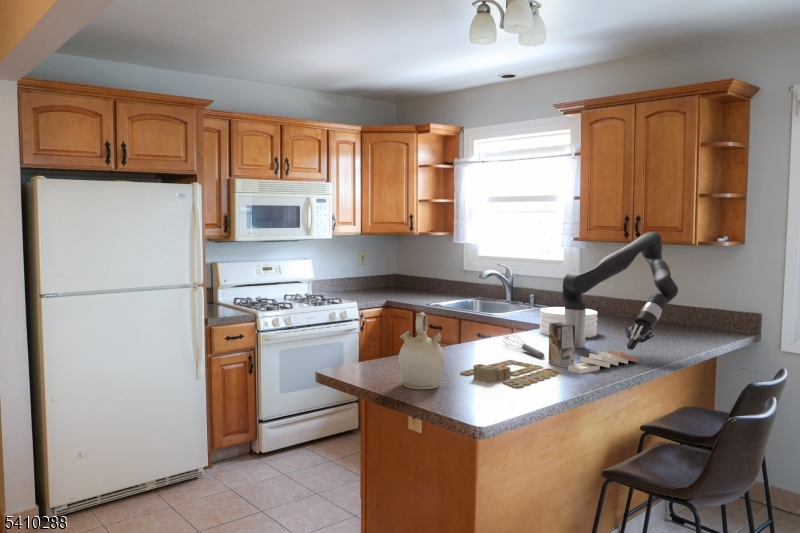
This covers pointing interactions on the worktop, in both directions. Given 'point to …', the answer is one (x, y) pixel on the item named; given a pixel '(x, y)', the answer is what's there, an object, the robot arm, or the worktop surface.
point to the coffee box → (561, 344)
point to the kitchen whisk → (527, 348)
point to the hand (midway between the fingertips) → (629, 348)
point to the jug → (421, 358)
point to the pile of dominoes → (510, 373)
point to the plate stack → (558, 316)
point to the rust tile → (624, 356)
